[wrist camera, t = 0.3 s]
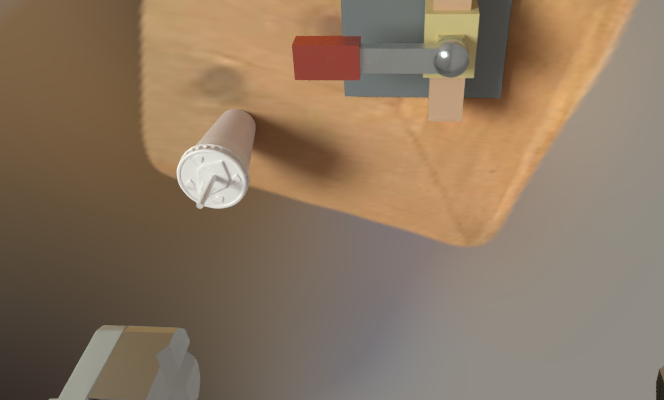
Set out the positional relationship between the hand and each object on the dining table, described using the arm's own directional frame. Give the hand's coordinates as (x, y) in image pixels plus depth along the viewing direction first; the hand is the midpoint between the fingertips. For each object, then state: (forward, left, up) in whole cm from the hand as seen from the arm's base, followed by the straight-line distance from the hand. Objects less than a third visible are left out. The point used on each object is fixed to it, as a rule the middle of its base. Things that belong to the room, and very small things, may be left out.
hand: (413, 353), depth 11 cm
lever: (+11, -3, -39) cm, 41 cm away
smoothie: (+22, -18, -47) cm, 55 cm away
